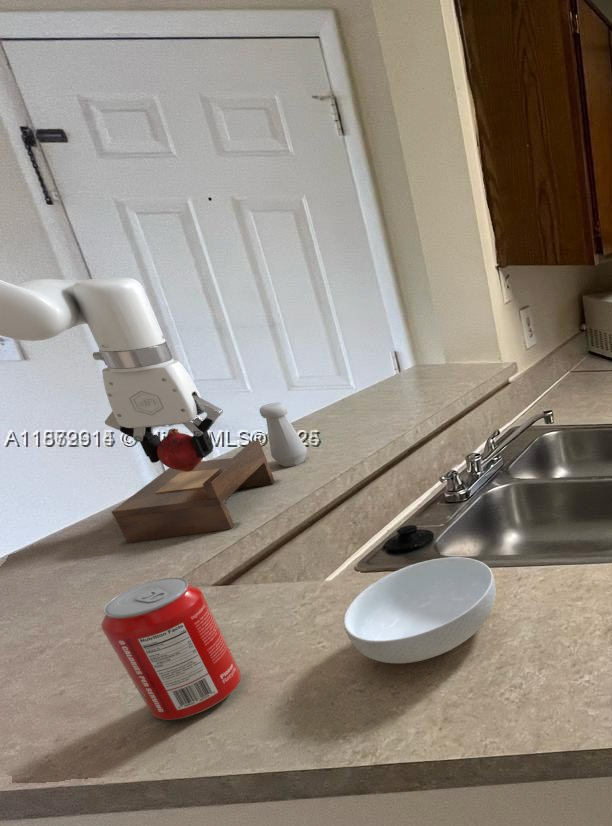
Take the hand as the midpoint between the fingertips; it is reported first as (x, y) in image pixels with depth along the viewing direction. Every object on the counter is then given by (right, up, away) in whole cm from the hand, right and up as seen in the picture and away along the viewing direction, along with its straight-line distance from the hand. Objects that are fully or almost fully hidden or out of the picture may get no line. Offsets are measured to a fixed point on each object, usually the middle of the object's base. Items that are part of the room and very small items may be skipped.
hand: (182, 456), depth 106 cm
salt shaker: (+1, -2, +22) cm, 22 cm away
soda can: (+37, -28, -34) cm, 57 cm away
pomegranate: (0, -3, +1) cm, 3 cm away
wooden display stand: (0, -10, +4) cm, 11 cm away
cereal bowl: (+58, -24, -24) cm, 68 cm away
